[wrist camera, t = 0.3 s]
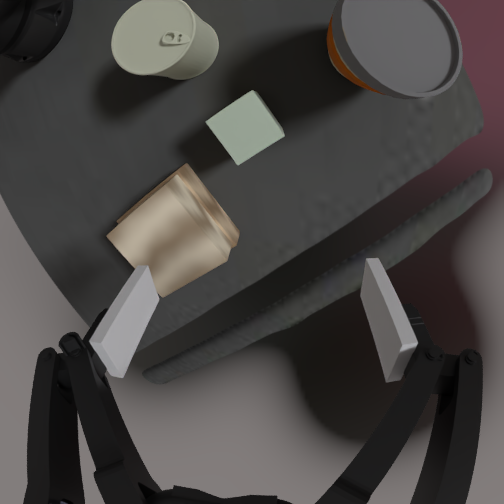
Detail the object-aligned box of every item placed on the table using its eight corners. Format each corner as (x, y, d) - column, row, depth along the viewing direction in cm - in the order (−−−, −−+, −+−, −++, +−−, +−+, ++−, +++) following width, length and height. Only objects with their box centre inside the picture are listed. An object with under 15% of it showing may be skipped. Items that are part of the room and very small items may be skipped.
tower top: (120, 222, 39) (106, 236, 35) (177, 174, 35) (165, 184, 31) (171, 279, 44) (162, 297, 40) (232, 243, 40) (227, 260, 36)
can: (205, 86, 33) (175, 83, 22) (144, 72, 32) (97, 69, 21) (229, 26, 28) (209, -1, 18) (166, 15, 27) (126, -9, 17)
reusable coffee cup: (336, -3, 24) (368, -48, 11) (415, 46, 26) (478, 33, 13) (298, 67, 30) (312, 47, 18) (380, 113, 32) (435, 127, 19)
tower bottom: (129, 209, 43) (116, 221, 39) (187, 161, 39) (177, 169, 35) (178, 267, 48) (170, 283, 44) (240, 230, 44) (236, 245, 40)
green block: (219, 116, 35) (205, 121, 28) (256, 91, 33) (252, 90, 26) (244, 152, 37) (237, 165, 30) (282, 128, 35) (284, 136, 28)
